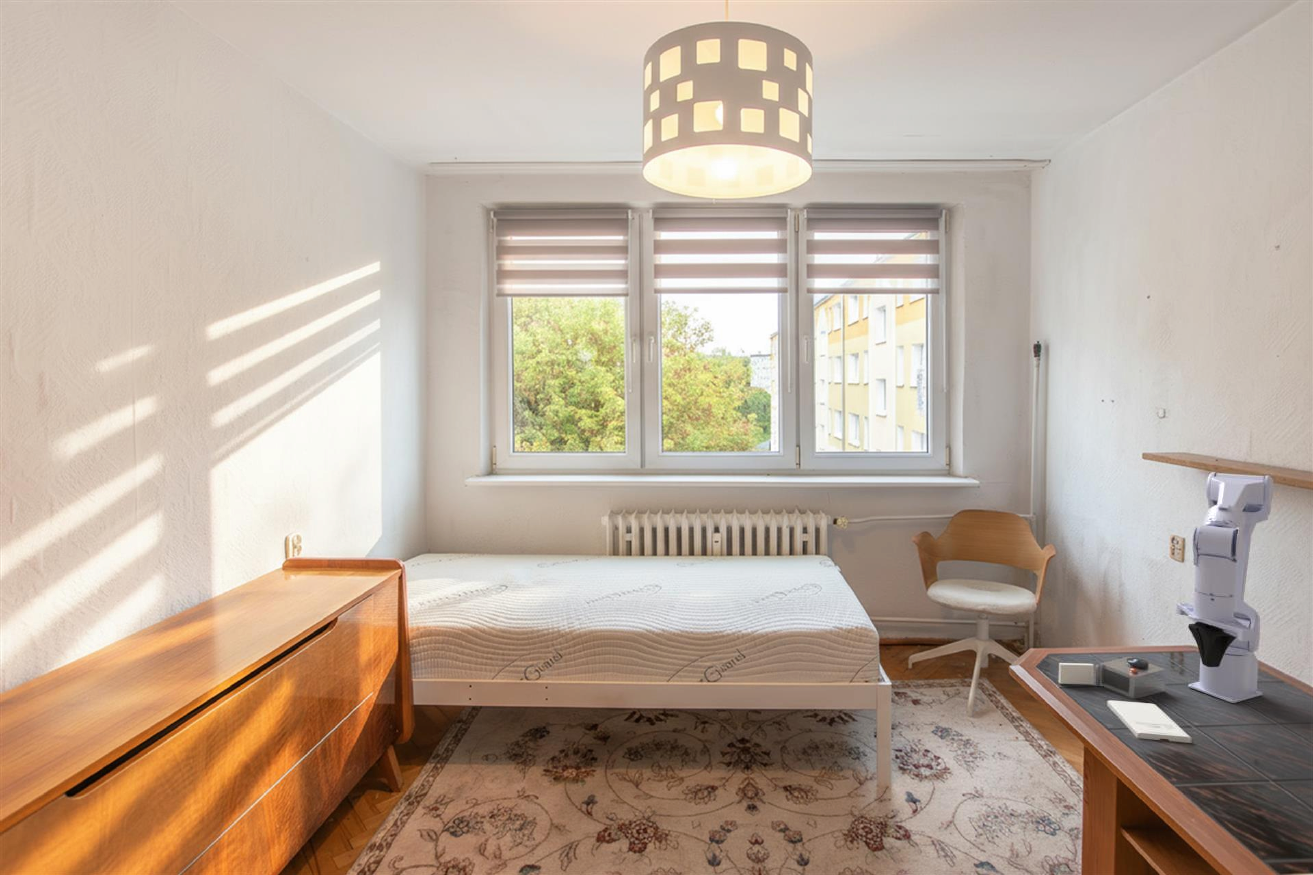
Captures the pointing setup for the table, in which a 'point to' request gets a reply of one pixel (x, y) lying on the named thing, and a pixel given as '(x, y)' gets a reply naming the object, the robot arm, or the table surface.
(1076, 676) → the side door
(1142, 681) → the camera body
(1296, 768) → the table surface
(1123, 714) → the external hard drive
